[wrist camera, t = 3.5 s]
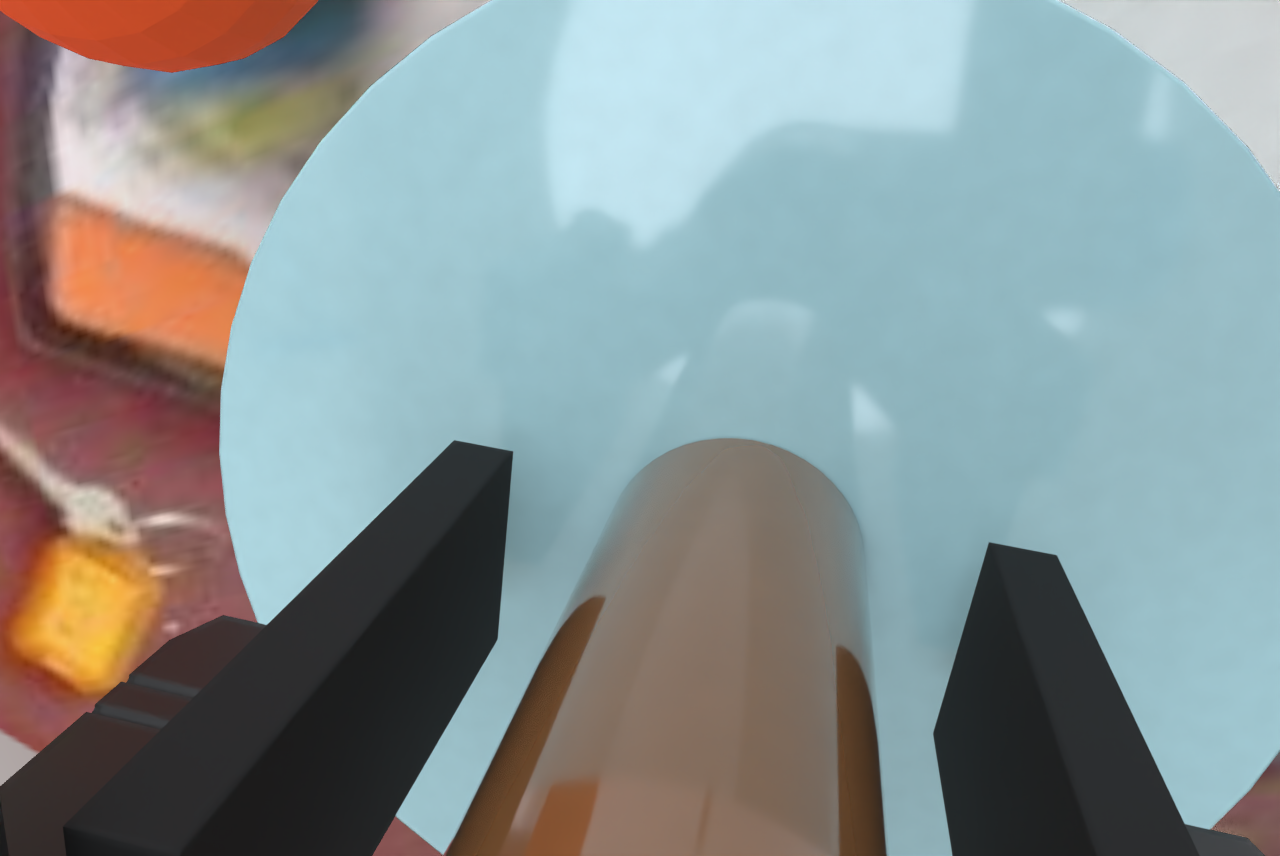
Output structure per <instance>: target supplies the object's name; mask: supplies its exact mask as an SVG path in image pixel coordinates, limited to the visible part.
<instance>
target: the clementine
mask: <svg viewBox="0 0 1280 856" xmlns="http://www.w3.org/2000/svg"><path fill="white" fill-rule="evenodd" d="M317 1H318V0H0V11H2V12H3V13H4V14H5V15H7V16H9V17H10V18H12V19H13V20H15V21H16V22H18V23H19V24H21V25H22V26H24V27H26V28H27V29H29V30H30V31H32V32H33V33H35V34H36V35H38V36H39V37H41V38H43V39H46V40H48V41H50V42H52V43H55V44H57V45H59V46H62V47H64V48H66V49H68V50H71V51H73V52H75V53H77V54H80V55H82V56H84V57H86V58H89V59H94V60H99V61H104V62H108V63H113V64H118V65H122V66H128V67H136V68H143V69H150V70H157V71H165V72H178V71H184V70H190V69H195V68H201V67H207V66H213V65H218V64H222V63H227V62H231V61H235V60H239V59H243V58H246V57H248V56H250V55H252V54H253V53H255V52H257V51H259V50H261V49H263V48H264V47H266V46H268V45H270V44H272V43H274V42H276V41H277V40H279V39H281V38H283V37H284V36H285V35H286V34H287V33H288V32H289V31H290V30H291V29H292V28H293V27H294V26H295V25H296V24H297V23H298V22H299V21H300V20H301V19H302V18H303V16H304V15H305V14H306V13H307V12H308V11H309V10H310V9H311V8H312V7H313V6H314V5H315V4H316V3H317Z"/></svg>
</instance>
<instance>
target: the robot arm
mask: <svg viewBox="0 0 1280 856" xmlns="http://www.w3.org/2000/svg"><path fill="white" fill-rule="evenodd" d="M512 461H513V451H509V450H504V449H498V448H493V447H488V446H483V445H477V444H472V443H467V442H462V441H456V440H454V441H453V442H452V443H451V444H450V445H449V446H448V447H447V448H446V449H445V450H444V451H443V452H442V453H441V454H440V455H439V456H438V457H437V458H436V459H435V460H434V461H433V462H432V463H431V464H430V465H428V466H427V467H426V468H425V469H424V470H423V471H422V472H421V473H420V474H419V475H418V476H417V477H416V478H415V479H414V480H413V481H412V482H411V483H410V484H409V485H408V486H407V487H406V488H405V489H404V490H403V491H402V492H401V493H400V494H399V495H398V496H397V497H396V498H395V499H394V500H393V501H392V502H391V503H390V504H389V505H388V506H387V507H386V508H385V509H384V510H383V511H382V512H381V513H380V514H379V515H378V516H377V517H376V518H375V519H374V520H373V521H372V522H371V523H370V524H369V525H368V526H367V527H366V528H365V529H364V530H363V531H362V532H361V533H360V534H359V535H358V536H357V537H356V538H355V539H354V540H352V541H351V542H350V543H349V544H348V545H347V546H346V547H345V548H344V549H343V550H342V551H341V552H340V553H339V554H338V555H337V556H336V557H335V558H334V559H333V560H332V561H331V562H330V563H329V564H328V565H327V566H326V567H325V568H324V569H323V570H322V571H321V572H320V573H319V574H318V575H317V576H316V577H315V578H314V579H313V580H312V581H311V582H310V583H309V584H308V585H307V586H306V587H305V588H304V589H303V590H302V591H301V592H300V593H299V594H298V595H297V596H296V597H295V598H294V599H293V600H292V601H291V602H290V603H289V604H288V605H287V606H286V607H285V608H284V609H283V610H282V611H281V612H280V613H279V614H277V615H276V616H275V617H274V618H273V619H272V620H271V621H270V622H269V623H268V624H267V625H265V624H260V623H256V622H251V621H247V620H242V619H238V618H233V617H229V616H224V615H223V616H220V617H218V618H216V619H214V620H212V621H210V622H207V623H205V624H203V625H201V626H199V627H197V628H195V629H192V630H190V631H188V632H186V633H184V634H182V635H179V636H177V637H175V638H173V639H171V640H169V641H168V642H167V643H166V644H164V645H163V646H162V647H161V648H160V649H159V650H158V651H156V652H155V653H154V654H153V655H152V656H151V657H149V658H148V659H147V660H146V661H145V662H144V663H142V664H141V665H140V666H139V667H138V668H137V669H136V670H134V671H133V672H132V673H131V674H130V675H129V679H128V681H127V682H126V683H124V682H120V683H119V684H118V685H117V686H116V687H115V688H114V689H112V690H111V691H110V692H109V693H108V694H107V695H105V696H104V697H103V698H102V699H101V700H100V701H98V702H97V703H96V704H95V708H94V711H93V712H92V713H88V712H86V713H85V714H83V715H82V716H81V717H80V718H79V719H78V720H76V721H75V722H74V723H73V724H72V725H71V726H70V727H68V728H67V729H66V730H65V731H64V732H63V733H61V734H60V735H59V736H58V737H57V738H56V739H54V740H53V741H52V742H51V743H50V744H49V745H48V746H46V747H45V748H44V749H43V750H42V751H41V752H39V753H38V754H37V755H36V756H35V757H34V758H32V759H31V760H30V761H29V762H28V763H27V764H26V765H25V766H23V767H22V768H21V769H20V770H19V771H18V772H16V773H15V774H14V775H13V776H12V777H11V778H9V779H8V780H7V781H6V782H5V783H4V784H2V786H0V856H372V855H373V853H374V852H375V850H376V848H377V846H378V845H379V843H380V841H381V839H382V838H383V836H384V834H385V833H386V831H387V829H388V827H389V826H390V824H391V822H392V821H393V819H394V817H395V815H396V814H397V812H398V810H399V808H400V807H401V805H402V803H403V802H404V800H405V798H406V796H407V795H408V793H409V791H410V790H411V788H412V786H413V784H414V783H415V781H416V779H417V777H418V776H419V774H420V772H421V771H422V769H423V767H424V765H425V764H426V762H427V760H428V759H429V757H430V755H431V753H432V752H433V750H434V748H435V746H436V745H437V743H438V741H439V740H440V738H441V736H442V734H443V733H444V731H445V729H446V728H447V726H448V724H449V722H450V721H451V719H452V717H453V715H454V714H455V712H456V710H457V709H458V707H459V705H460V703H461V702H462V700H463V698H464V697H465V695H466V693H467V691H468V690H469V688H470V686H471V684H472V683H473V681H474V679H475V678H476V676H477V674H478V672H479V671H480V669H481V667H482V666H483V664H484V662H485V660H486V659H487V657H488V655H489V654H490V652H491V650H492V648H493V647H494V645H495V643H496V641H497V640H498V630H499V618H500V606H501V594H502V582H503V570H504V558H505V546H506V534H507V521H508V509H509V497H510V485H511V473H512ZM933 737H934V743H935V750H936V756H937V762H938V768H939V775H940V781H941V787H942V793H943V800H944V806H945V812H946V818H947V825H948V831H949V837H950V843H951V850H952V856H1265V855H1264V854H1263V853H1262V852H1261V851H1260V850H1259V849H1258V848H1257V847H1256V846H1255V845H1254V844H1253V843H1252V842H1251V841H1250V840H1249V839H1248V838H1245V837H1241V836H1236V835H1232V834H1227V833H1223V832H1218V831H1214V830H1209V829H1205V828H1200V827H1196V826H1191V825H1187V824H1184V821H1183V819H1182V817H1181V815H1180V813H1179V811H1178V809H1177V807H1176V805H1175V803H1174V800H1173V798H1172V796H1171V794H1170V792H1169V790H1168V788H1167V786H1166V784H1165V782H1164V779H1163V777H1162V775H1161V773H1160V771H1159V769H1158V767H1157V765H1156V763H1155V760H1154V758H1153V756H1152V754H1151V752H1150V750H1149V748H1148V746H1147V744H1146V742H1145V739H1144V737H1143V735H1142V733H1141V731H1140V729H1139V727H1138V725H1137V723H1136V721H1135V718H1134V716H1133V714H1132V712H1131V710H1130V708H1129V706H1128V704H1127V702H1126V699H1125V697H1124V695H1123V693H1122V691H1121V689H1120V687H1119V685H1118V683H1117V681H1116V678H1115V676H1114V674H1113V672H1112V670H1111V668H1110V666H1109V664H1108V662H1107V660H1106V657H1105V655H1104V653H1103V651H1102V649H1101V647H1100V645H1099V643H1098V641H1097V639H1096V636H1095V634H1094V632H1093V630H1092V628H1091V626H1090V624H1089V622H1088V620H1087V617H1086V615H1085V613H1084V611H1083V609H1082V607H1081V605H1080V603H1079V601H1078V599H1077V596H1076V594H1075V592H1074V590H1073V588H1072V586H1071V584H1070V582H1069V580H1068V578H1067V575H1066V573H1065V571H1064V569H1063V567H1062V565H1061V563H1060V561H1059V559H1058V556H1057V555H1054V554H1048V553H1043V552H1038V551H1033V550H1027V549H1022V548H1017V547H1012V546H1006V545H1001V544H996V543H991V542H989V544H988V547H987V550H986V554H985V557H984V561H983V564H982V568H981V571H980V574H979V578H978V581H977V585H976V588H975V591H974V595H973V598H972V602H971V605H970V609H969V612H968V615H967V619H966V622H965V626H964V629H963V633H962V636H961V639H960V643H959V646H958V650H957V653H956V656H955V660H954V663H953V667H952V670H951V674H950V677H949V680H948V684H947V687H946V691H945V694H944V698H943V701H942V704H941V708H940V711H939V715H938V718H937V721H936V725H935V728H934V732H933Z"/></svg>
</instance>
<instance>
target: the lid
mask: <svg viewBox="0 0 1280 856" xmlns="http://www.w3.org/2000/svg"><path fill="white" fill-rule="evenodd" d="M454 440H456V441H462V442H467V443H472V444H477V445H483V446H488V447H493V448H498V449H504V450H509V451H513V461H512V473H511V485H510V497H509V509H508V521H507V534H506V546H505V558H504V570H503V582H502V594H501V606H500V618H499V630H498V640H497V641H496V643H495V645H494V647H493V648H492V650H491V652H490V654H489V655H488V657H487V659H486V660H485V662H484V664H483V666H482V667H481V669H480V671H479V672H478V674H477V676H476V678H475V679H474V681H473V683H472V684H471V686H470V688H469V690H468V691H467V693H466V695H465V697H464V698H463V700H462V702H461V703H460V705H459V707H458V709H457V710H456V712H455V714H454V715H453V717H452V719H451V721H450V722H449V724H448V726H447V728H446V729H445V731H444V733H443V734H442V736H441V738H440V740H439V741H438V743H437V745H436V746H435V748H434V750H433V752H432V753H431V755H430V757H429V759H428V760H427V762H426V764H425V765H424V767H423V769H422V771H421V772H420V774H419V776H418V777H417V779H416V781H415V783H414V784H413V786H412V788H411V790H410V791H409V793H408V795H407V796H406V798H405V800H404V802H403V803H402V805H401V807H400V808H399V810H398V812H397V814H396V815H395V816H396V817H397V818H398V819H399V820H400V821H401V822H403V823H404V824H405V825H406V826H408V827H409V828H410V829H411V830H413V831H414V832H415V833H416V834H418V835H419V836H420V837H421V838H422V839H424V840H425V841H426V842H427V843H429V844H430V845H431V846H432V847H434V848H435V849H436V850H437V851H439V852H440V853H441V854H442V855H443V856H952V850H951V843H950V837H949V831H948V825H947V818H946V812H945V806H944V800H943V793H942V787H941V781H940V775H939V768H938V762H937V756H936V750H935V743H934V737H933V732H934V728H935V725H936V721H937V718H938V715H939V711H940V708H941V704H942V701H943V698H944V694H945V691H946V687H947V684H948V680H949V677H950V674H951V670H952V667H953V663H954V660H955V656H956V653H957V650H958V646H959V643H960V639H961V636H962V633H963V629H964V626H965V622H966V619H967V615H968V612H969V609H970V605H971V602H972V598H973V595H974V591H975V588H976V585H977V581H978V578H979V574H980V571H981V568H982V564H983V561H984V557H985V554H986V550H987V547H988V544H989V542H991V543H996V544H1001V545H1006V546H1012V547H1017V548H1022V549H1027V550H1033V551H1038V552H1043V553H1048V554H1054V555H1057V556H1058V559H1059V561H1060V563H1061V565H1062V567H1063V569H1064V571H1065V573H1066V575H1067V578H1068V580H1069V582H1070V584H1071V586H1072V588H1073V590H1074V592H1075V594H1076V596H1077V599H1078V601H1079V603H1080V605H1081V607H1082V609H1083V611H1084V613H1085V615H1086V617H1087V620H1088V622H1089V624H1090V626H1091V628H1092V630H1093V632H1094V634H1095V636H1096V639H1097V641H1098V643H1099V645H1100V647H1101V649H1102V651H1103V653H1104V655H1105V657H1106V660H1107V662H1108V664H1109V666H1110V668H1111V670H1112V672H1113V674H1114V676H1115V678H1116V681H1117V683H1118V685H1119V687H1120V689H1121V691H1122V693H1123V695H1124V697H1125V699H1126V702H1127V704H1128V706H1129V708H1130V710H1131V712H1132V714H1133V716H1134V718H1135V721H1136V723H1137V725H1138V727H1139V729H1140V731H1141V733H1142V735H1143V737H1144V739H1145V742H1146V744H1147V746H1148V748H1149V750H1150V752H1151V754H1152V756H1153V758H1154V760H1155V763H1156V765H1157V767H1158V769H1159V771H1160V773H1161V775H1162V777H1163V779H1164V782H1165V784H1166V786H1167V788H1168V790H1169V792H1170V794H1171V796H1172V798H1173V800H1174V803H1175V805H1176V807H1177V809H1178V811H1179V813H1180V815H1181V817H1182V819H1183V821H1184V824H1187V825H1191V826H1196V827H1200V828H1205V829H1209V830H1210V829H1211V828H1212V827H1213V826H1214V825H1215V824H1216V823H1217V822H1218V821H1219V820H1220V819H1221V818H1222V817H1223V816H1224V815H1225V814H1226V813H1227V812H1228V811H1229V810H1230V809H1231V808H1233V807H1234V806H1235V805H1236V804H1237V803H1238V802H1239V801H1240V800H1241V799H1242V798H1243V797H1244V796H1245V795H1246V794H1247V793H1248V792H1249V791H1250V789H1251V788H1252V787H1253V785H1254V784H1255V783H1256V782H1257V780H1258V779H1259V778H1260V776H1261V775H1262V774H1263V772H1264V771H1265V770H1266V769H1267V767H1268V766H1269V765H1270V763H1271V762H1272V761H1273V759H1274V758H1275V757H1276V755H1277V754H1278V753H1279V752H1280V191H1279V190H1278V188H1277V187H1276V186H1275V184H1274V183H1273V181H1272V180H1271V178H1270V177H1269V176H1268V174H1267V173H1266V171H1265V170H1264V169H1263V167H1262V166H1261V164H1260V163H1259V162H1258V160H1257V159H1256V157H1255V156H1254V154H1253V153H1252V152H1251V150H1250V149H1249V147H1248V146H1247V145H1246V144H1245V143H1244V142H1243V141H1242V140H1241V139H1240V138H1239V137H1238V136H1237V135H1236V134H1235V133H1234V132H1233V131H1232V130H1231V129H1230V128H1229V127H1228V126H1227V125H1226V124H1225V123H1224V122H1223V121H1222V120H1221V119H1220V118H1219V117H1218V116H1217V115H1216V114H1215V113H1214V112H1213V111H1212V110H1211V109H1210V108H1209V107H1208V106H1207V105H1206V104H1205V103H1204V102H1203V101H1202V99H1201V98H1200V97H1199V96H1198V95H1197V94H1196V93H1195V92H1194V91H1193V90H1192V89H1191V88H1190V87H1189V86H1188V85H1187V84H1186V83H1185V82H1183V81H1182V80H1181V79H1179V78H1178V77H1177V76H1175V75H1174V74H1173V73H1171V72H1170V71H1169V70H1167V69H1166V68H1165V67H1163V66H1162V65H1161V64H1159V63H1158V62H1156V61H1155V60H1154V59H1152V58H1151V57H1150V56H1148V55H1147V54H1146V53H1144V52H1143V51H1142V50H1140V49H1139V48H1138V47H1136V46H1135V45H1134V44H1132V43H1131V42H1130V41H1128V40H1127V39H1126V38H1124V37H1123V36H1121V35H1120V34H1119V33H1117V32H1116V31H1115V30H1113V29H1112V28H1111V27H1109V26H1107V25H1105V24H1103V23H1101V22H1099V21H1097V20H1096V19H1094V18H1092V17H1090V16H1088V15H1086V14H1084V13H1082V12H1080V11H1079V10H1077V9H1075V8H1073V7H1071V6H1069V5H1067V4H1065V3H1063V2H1062V1H1060V0H490V1H488V2H487V3H485V4H483V5H482V6H480V7H478V8H477V9H475V10H473V11H472V12H470V13H468V14H467V15H465V16H463V17H462V18H460V19H458V20H457V21H455V22H453V23H452V24H450V25H448V26H447V27H445V28H443V29H442V30H440V31H438V32H437V33H435V34H433V35H432V36H430V37H429V38H428V39H427V40H426V41H424V42H423V43H422V44H421V45H419V46H418V47H417V48H416V49H415V50H413V51H412V52H411V53H410V54H408V55H407V56H406V57H405V58H404V59H402V60H401V61H400V62H399V63H397V64H396V65H395V66H394V67H393V68H391V69H390V70H389V71H388V72H386V73H385V74H384V75H383V76H382V77H380V78H379V79H378V80H377V81H376V82H374V83H373V84H372V85H371V86H370V87H369V88H368V89H367V90H366V91H365V92H364V94H363V95H362V96H361V97H360V98H359V99H358V100H357V101H356V102H355V103H354V105H353V106H352V107H351V108H350V109H349V110H348V111H347V112H346V113H345V115H344V116H343V117H342V118H341V119H340V120H339V121H338V122H337V123H336V124H335V126H334V127H333V128H332V129H331V130H330V131H329V132H328V133H327V134H326V135H325V137H324V138H323V139H322V140H321V141H320V143H319V144H318V146H317V147H316V149H315V150H314V152H313V153H312V155H311V156H310V158H309V159H308V161H307V162H306V164H305V165H304V167H303V168H302V170H301V171H300V173H299V174H298V176H297V177H296V179H295V180H294V182H293V183H292V185H291V186H290V188H289V189H288V191H287V192H286V194H285V195H284V197H283V198H282V200H281V202H280V204H279V206H278V208H277V210H276V212H275V214H274V216H273V218H272V220H271V223H270V225H269V227H268V229H267V231H266V233H265V235H264V237H263V239H262V241H261V244H260V246H259V248H258V250H257V252H256V254H255V256H254V258H253V260H252V262H251V265H250V268H249V272H248V275H247V278H246V281H245V285H244V288H243V291H242V294H241V297H240V301H239V304H238V307H237V310H236V313H235V317H234V320H233V323H232V326H231V332H230V338H229V344H228V350H227V357H226V363H225V369H224V375H223V381H222V387H221V409H220V446H219V455H220V464H221V474H222V483H223V493H224V503H225V512H226V518H227V522H228V526H229V530H230V535H231V539H232V543H233V547H234V552H235V556H236V560H237V564H238V569H239V573H240V576H241V579H242V581H243V584H244V587H245V589H246V592H247V595H248V598H249V600H250V603H251V606H252V609H253V611H254V614H255V617H256V619H257V622H258V623H260V624H265V625H267V624H268V623H269V622H270V621H271V620H272V619H273V618H274V617H275V616H276V615H277V614H279V613H280V612H281V611H282V610H283V609H284V608H285V607H286V606H287V605H288V604H289V603H290V602H291V601H292V600H293V599H294V598H295V597H296V596H297V595H298V594H299V593H300V592H301V591H302V590H303V589H304V588H305V587H306V586H307V585H308V584H309V583H310V582H311V581H312V580H313V579H314V578H315V577H316V576H317V575H318V574H319V573H320V572H321V571H322V570H323V569H324V568H325V567H326V566H327V565H328V564H329V563H330V562H331V561H332V560H333V559H334V558H335V557H336V556H337V555H338V554H339V553H340V552H341V551H342V550H343V549H344V548H345V547H346V546H347V545H348V544H349V543H350V542H351V541H352V540H354V539H355V538H356V537H357V536H358V535H359V534H360V533H361V532H362V531H363V530H364V529H365V528H366V527H367V526H368V525H369V524H370V523H371V522H372V521H373V520H374V519H375V518H376V517H377V516H378V515H379V514H380V513H381V512H382V511H383V510H384V509H385V508H386V507H387V506H388V505H389V504H390V503H391V502H392V501H393V500H394V499H395V498H396V497H397V496H398V495H399V494H400V493H401V492H402V491H403V490H404V489H405V488H406V487H407V486H408V485H409V484H410V483H411V482H412V481H413V480H414V479H415V478H416V477H417V476H418V475H419V474H420V473H421V472H422V471H423V470H424V469H425V468H426V467H427V466H428V465H430V464H431V463H432V462H433V461H434V460H435V459H436V458H437V457H438V456H439V455H440V454H441V453H442V452H443V451H444V450H445V449H446V448H447V447H448V446H449V445H450V444H451V443H452V442H453V441H454Z"/></svg>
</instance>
